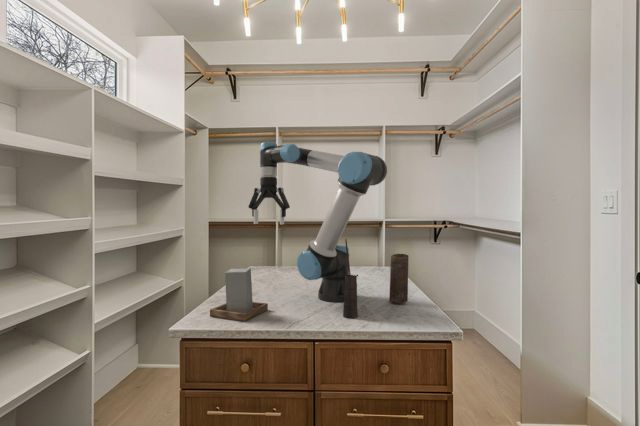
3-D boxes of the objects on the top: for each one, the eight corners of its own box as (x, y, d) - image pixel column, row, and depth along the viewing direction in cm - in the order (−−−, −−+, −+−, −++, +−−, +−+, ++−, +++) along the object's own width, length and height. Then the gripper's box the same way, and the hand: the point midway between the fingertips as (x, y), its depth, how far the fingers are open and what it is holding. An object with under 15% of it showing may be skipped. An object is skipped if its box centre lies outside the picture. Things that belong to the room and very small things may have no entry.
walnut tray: (267, 310, 134) (267, 303, 134) (244, 321, 120) (244, 314, 120) (235, 305, 140) (235, 299, 139) (209, 316, 126) (209, 309, 126)
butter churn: (369, 314, 129) (369, 238, 128) (361, 321, 120) (361, 240, 119) (345, 311, 132) (345, 237, 132) (336, 318, 124) (336, 239, 123)
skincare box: (253, 309, 133) (252, 267, 133) (247, 315, 126) (247, 271, 125) (231, 308, 134) (231, 267, 133) (224, 314, 127) (224, 270, 126)
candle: (411, 303, 144) (411, 254, 143) (402, 306, 138) (402, 256, 138) (395, 299, 149) (395, 252, 149) (385, 303, 144) (386, 254, 143)
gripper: (297, 176, 156) (297, 224, 156) (250, 178, 166) (250, 223, 166) (289, 175, 149) (289, 225, 150) (240, 177, 159) (240, 223, 159)
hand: (268, 224), depth 158 cm, fingers open, 13 cm apart
